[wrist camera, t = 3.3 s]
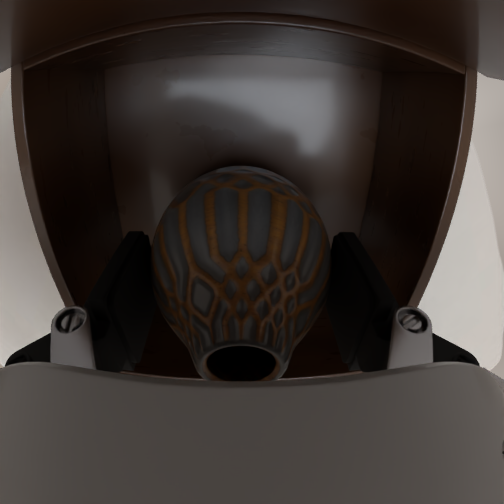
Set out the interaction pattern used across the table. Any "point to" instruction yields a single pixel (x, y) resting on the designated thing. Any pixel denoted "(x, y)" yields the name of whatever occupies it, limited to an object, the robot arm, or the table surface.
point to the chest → (242, 145)
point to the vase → (241, 271)
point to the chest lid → (297, 3)
